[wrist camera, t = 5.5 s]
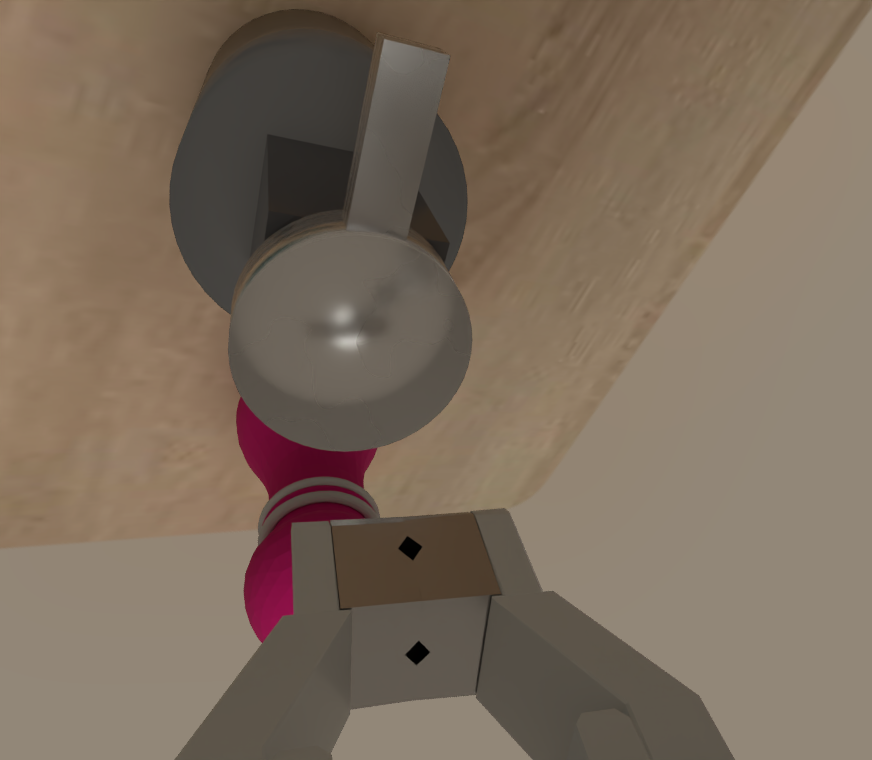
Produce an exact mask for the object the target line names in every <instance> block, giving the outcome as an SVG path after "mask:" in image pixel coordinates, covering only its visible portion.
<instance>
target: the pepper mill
mask: <svg viewBox="0 0 872 760" xmlns="http://www.w3.org/2000/svg"><path fill="white" fill-rule="evenodd" d="M236 424H237V434H238V440H239V445H240V447H241V450H242V452H243V454H244V457H245V459H246V461H247V463H248V465H249V467H250V468H251V469H252V471H253V472H254V473H255V474H256V475H257V477H258V478H259V479H260V480H261V481H262V483H263V484H264V486H265V487H266V490H267V492H268V495H269V501H268V502H267V504H266V505H265V507H264V508H263V510H262V513H261V515H260V518H259V523H258V533H259V537H258V547H257V548H256V550H255V552H254V553H253V556H252V558H251V560H250V563H249V566H248V568H247V571H246V573H245V584H244V600H245V609H246V612H247V615H248V618H249V621H250V624H251V626H252V628H253V630H254V632H255V633H256V635H257V637H258V639H259V640H260V641H261V642H262V643H263V641H264V640H265V639H266V637H267V636H268V635H269V633H270V632H271V631H272V629H273V628H274V627H275V626H276V624H277V623H278V622H279V620H280V619H281V618H282V616H286V615H293V581H292V547H291V527H292V523H297V522H318V521H328V522H329V523H330V520H347V519H369V518H380V514H379V510H378V507H377V505H376V503H375V501H374V499H373V498H372V497H371V496H370V494H369V493H368V492H367V491H365V490H364V485H363V479H364V473H365V471H366V470H367V468H368V466H369V465H370V463H371V461H372V459H373V458H374V455H375V453H376V450H377V448H373V449H367V450H362V451H348V452H344V451H328V450H321V449H316V448H312V447H308V446H305V445H302V444H299V443H296V442H294V441H291V440H289V439H287V438H285V437H283V436H282V435H280V434H278V433H276V432H275V431H273V430H272V429H271V428H269V427H268V426H266V425H265V424H264V423H263V422H262V421H261V420H260V419H259V418H258V417H256V416H255V415H254V413H253V412H252V411H251V410H250V408H249V407H248V406H247V405H246V403H245V402H244V400H243V398H242V397H241V398H240V400H239V403H238V408H237V414H236Z"/></svg>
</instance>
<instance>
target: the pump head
mask: <svg viewBox="0 0 872 760" xmlns="http://www.w3.org/2000/svg"><path fill="white" fill-rule="evenodd" d="M449 60H450V55H449V54H447V53H446V52H444V51H443V50H441V49H440V48H437V47H433V46H429V45H425V44H421V43H417V42H413V41H409V40H405V39H402V38H398V37H394V36H390V35H386V34H382V33H378V32H377V34H376V40H375V45H374V50H373V55H372V60H371V65H370V70H369V76H368V81H367V86H366V91H365V96H364V101H363V106H362V112H361V117H360V122H359V127H358V132H357V137H356V142H355V148H354V153H353V158H352V163H351V168H350V173H349V179H348V184H347V189H346V194H345V199H344V204H343V209H342V210H332V211H325V212H320V213H316V214H312V215H309V216H306V217H303V218H301V219H298V220H296V221H294V222H291V223H290V224H288V225H286V226H284V227H283V228H281V229H279V230H278V231H276V232H275V233H274V234H273V235H271V236H270V237H269V238H267V239H266V240H265V241H264V242H263V243H262V244H261V245H260V246H259V247H258V248H257V249H256V250H255V252H254V253H253V254H252V256H251V257H250V258H249V260H248V261H247V262H246V264H245V266H244V268H243V270H242V272H241V273H240V275H239V278H238V281H237V283H236V286H235V289H234V294H233V299H232V306H231V317H230V329H229V343H228V355H229V365H230V369H231V373H232V377H233V380H234V382H235V385H236V387H237V390H238V392H239V394H240V395H241V397H242V398H243V400H244V402H245V403H246V405H247V406H248V407H249V408H250V410H251V411H252V412H253V413H254V415H255V416H256V417H258V418H259V419H260V420H261V421H262V422H263V423H264V424H265V425H266V426H268V427H269V428H271V429H272V430H273V431H275V432H276V433H278V434H280V435H282V436H283V437H285V438H287V439H289V440H291V441H294V442H296V443H299V444H302V445H305V446H308V447H312V448H316V449H321V450H328V451H344V452H348V451H362V450H367V449H373V448H378V447H381V446H385V445H388V444H391V443H394V442H396V441H398V440H401V439H403V438H405V437H407V436H409V435H411V434H413V433H415V432H416V431H418V430H419V429H421V428H422V427H424V426H425V425H427V424H428V423H429V422H430V421H431V420H433V419H434V418H435V417H436V416H437V415H438V414H439V413H440V412H441V411H442V410H443V409H444V408H445V407H446V406H447V405H448V403H449V402H450V401H451V399H452V398H453V396H454V395H455V394H456V392H457V390H458V388H459V387H460V385H461V383H462V381H463V379H464V376H465V373H466V371H467V368H468V365H469V360H470V356H471V348H472V328H471V322H470V317H469V313H468V310H467V307H466V304H465V302H464V299H463V297H462V295H461V294H460V292H459V290H458V288H457V286H456V284H455V282H454V281H453V279H452V277H451V275H450V273H449V271H448V270H447V268H446V266H445V264H444V262H443V260H442V259H441V257H440V256H439V254H438V253H437V252H436V250H435V249H434V248H433V246H432V245H431V244H430V243H429V242H428V241H427V240H426V239H425V238H424V237H422V236H421V235H420V234H419V233H417V232H416V231H415V230H413V229H412V228H410V223H411V219H412V215H413V210H414V206H415V202H416V198H417V194H418V189H419V185H420V181H421V177H422V173H423V169H424V164H425V160H426V156H427V152H428V148H429V143H430V139H431V135H432V131H433V127H434V123H435V118H436V114H437V110H438V106H439V102H440V97H441V93H442V89H443V85H444V81H445V77H446V72H447V68H448V64H449Z"/></svg>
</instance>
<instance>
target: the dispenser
mask: <svg viewBox="0 0 872 760" xmlns="http://www.w3.org/2000/svg"><path fill="white" fill-rule="evenodd" d="M373 50H374V45H373V44H372V43H371V42H370V41H369V40H368V39H367V38H366V37H365V36H364V35H362V34H361V33H360V32H359V31H358V30H356V29H355V28H353V27H352V26H350V25H349V24H347V23H346V22H344V21H342V20H339V19H337V18H335V17H333V16H330V15H327V14H324V13H321V12H316V11H310V10H298V9H291V10H282V11H276V12H273V13H269V14H265V15H263V16H261V17H258V18H256V19H253V20H252V21H250V22H248V23H247V24H245V25H244V26H242V27H241V28H239V29H238V30H237V31H236V32H235V33H233V34H232V35H231V36H230V37H229V38H228V40H227V41H226V42H225V43H224V44H223V45H222V47H221V48H220V50H219V51H218V53H217V54H216V56H215V57H214V59H213V62H212V64H211V66H210V68H209V70H208V73H207V75H206V78H205V81H204V83H203V86H202V88H201V91H200V93H199V96H198V98H197V101H196V104H195V106H194V109H193V111H192V114H191V116H190V119H189V122H188V124H187V127H186V129H185V132H184V134H183V137H182V140H181V142H180V145H179V148H178V151H177V154H176V157H175V160H174V164H173V168H172V174H171V181H170V213H171V221H172V226H173V230H174V234H175V238H176V241H177V244H178V247H179V249H180V251H181V254H182V256H183V259H184V261H185V263H186V264H187V266H188V268H189V269H190V271H191V273H192V275H193V276H194V278H195V279H196V280H197V282H198V283H199V284H200V286H201V287H202V288H203V289H204V291H205V292H206V293H207V294H208V295H209V296H210V297H211V298H212V299H213V300H214V301H215V302H216V303H217V304H218V305H219V306H220V307H221V308H223V309H224V310H225V311H227V312H228V313H229V314H230V315H231V306H232V299H233V294H234V289H235V286H236V283H237V281H238V278H239V275H240V273H241V272H242V270H243V268H244V266H245V264H246V262H247V261H248V260H249V258H250V257H251V256H252V254H253V253H254V252H255V250H256V249H257V248H258V247H259V246H260V245H261V244H262V243H263V242H264V241H265V240H266V239H267V238H269V237H270V236H271V235H273V234H274V233H275V232H276V231H278V230H279V229H281V228H283V227H284V226H286V225H288V224H290V223H291V222H294V221H296V220H298V219H301V218H303V217H306V216H309V215H312V214H316V213H320V212H325V211H332V210H342V209H343V204H344V199H345V194H346V189H347V184H348V179H349V173H350V168H351V163H352V158H353V153H354V148H355V142H356V137H357V132H358V127H359V122H360V117H361V112H362V106H363V101H364V96H365V91H366V86H367V81H368V76H369V70H370V65H371V60H372V55H373ZM467 204H468V202H467V184H466V179H465V174H464V169H463V165H462V161H461V158H460V155H459V152H458V149H457V147H456V145H455V143H454V141H453V139H452V137H451V135H450V133H449V131H448V129H447V128H446V126H445V125H444V123H443V122H442V120H441V119H440V117H439V116H438V114H436V118H435V123H434V127H433V131H432V135H431V139H430V143H429V148H428V152H427V156H426V160H425V164H424V169H423V173H422V177H421V181H420V185H419V189H418V194H417V198H416V202H415V206H414V210H413V215H412V219H411V223H410V228H412V229H413V230H415V231H416V232H417V233H419V234H420V235H421V236H422V237H424V238H425V239H426V240H427V241H428V242H429V243H430V244H431V245H432V246H433V248H434V249H435V250H436V252H437V253H438V254H439V256H440V257H441V259H442V260H443V262H444V264H445V266H446V268H447V270H448V271H449V270H450V268H451V266H452V264H453V262H454V260H455V258H456V256H457V253H458V250H459V247H460V244H461V242H462V239H463V234H464V229H465V224H466V217H467Z"/></svg>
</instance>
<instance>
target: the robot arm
mask: <svg viewBox="0 0 872 760" xmlns="http://www.w3.org/2000/svg"><path fill="white" fill-rule="evenodd" d="M291 547H292V581H293V615H286V616H282V618H281V619H280V620H279V622H278V623H277V624H276V626H275V627H274V628H273V629H272V631H271V632H270V633H269V635H268V636H267V637H266V639H265V640H264V641H263V643H262V644H261V646H260V647H259V648H258V650H257V651H256V652H255V654H254V655H253V656H252V658H251V659H250V660H249V661H248V663H247V664H246V665H245V667H244V668H243V669H242V671H241V672H240V673H239V675H238V676H237V677H236V679H235V680H234V681H233V683H232V684H231V685H230V687H229V688H228V689H227V691H226V692H225V693H224V695H223V696H222V697H221V699H220V700H219V701H218V703H217V704H216V705H215V707H214V708H213V709H212V711H211V712H210V713H209V715H208V716H207V717H206V719H205V720H204V721H203V723H202V724H201V725H200V727H199V728H198V729H197V730H196V732H195V733H194V734H193V736H192V737H191V738H190V740H189V741H188V742H187V744H186V745H185V746H184V748H183V749H182V751H181V752H180V753H179V754H178V756H177V757H176V758H175V760H332V755H331V752H332V749H333V748H334V745H335V743H336V741H337V739H338V737H339V735H340V733H341V731H342V729H343V727H344V725H345V723H346V721H347V719H348V717H349V715H350V710H351V709H357V708H364V707H371V706H378V705H385V704H392V703H399V702H405V701H412V700H423V699H434V698H445V697H457V696H468V695H476V698H477V700H478V701H479V702H480V703H481V704H482V705H483V706H484V707H485V708H486V709H487V710H488V711H489V713H490V714H491V715H492V716H493V717H494V718H495V719H496V720H497V721H498V722H499V723H500V725H501V726H502V727H503V728H504V729H505V730H506V731H507V732H508V733H509V734H510V735H511V737H512V738H513V739H514V740H515V741H516V742H517V743H518V744H519V745H520V746H521V747H522V749H523V750H524V751H525V752H526V753H527V754H528V755H529V756H530V757H531V758H532V759H533V760H735V759H734V757H733V755H732V754H731V752H730V750H729V748H728V746H727V745H726V743H725V741H724V740H723V738H722V736H721V734H720V732H719V730H718V729H717V727H716V725H715V723H714V721H713V720H712V718H711V716H710V714H709V712H708V711H707V709H706V707H705V705H704V703H703V702H702V700H701V698H700V696H699V695H697V694H696V693H695V692H693V691H692V690H690V689H689V688H688V687H686V686H685V685H684V684H682V683H681V682H679V681H678V680H677V679H675V678H674V677H672V676H671V675H670V674H668V673H667V672H665V671H664V670H663V669H661V668H660V667H658V666H657V665H656V664H654V663H653V662H651V661H650V660H649V659H647V658H646V657H644V656H643V655H642V654H640V653H639V652H638V651H636V650H635V649H633V648H632V647H631V646H629V645H628V644H626V643H625V642H624V641H622V640H621V639H619V638H618V637H617V636H615V635H614V634H612V633H611V632H610V631H608V630H607V629H605V628H604V627H603V626H601V625H600V624H598V623H597V622H596V621H594V620H593V619H592V618H590V617H589V616H587V615H586V614H584V613H583V612H582V611H580V610H579V609H578V608H576V607H575V606H573V605H572V604H571V603H569V602H568V601H566V600H565V599H564V598H562V597H561V596H559V595H558V594H557V593H555V592H554V591H546V592H543V591H542V588H541V586H540V584H539V581H538V579H537V576H536V574H535V572H534V570H533V567H532V565H531V562H530V560H529V558H528V555H527V553H526V550H525V548H524V546H523V543H522V541H521V538H520V536H519V534H518V531H517V529H516V526H515V524H514V522H513V519H512V517H511V515H510V513H509V511H507V510H506V509H505V508H501V509H489V510H478V511H471V512H461V513H448V514H435V515H422V516H408V517H391V518H369V519H347V520H330V523H329V522H328V521H318V522H297V523H292V527H291Z"/></svg>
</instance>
